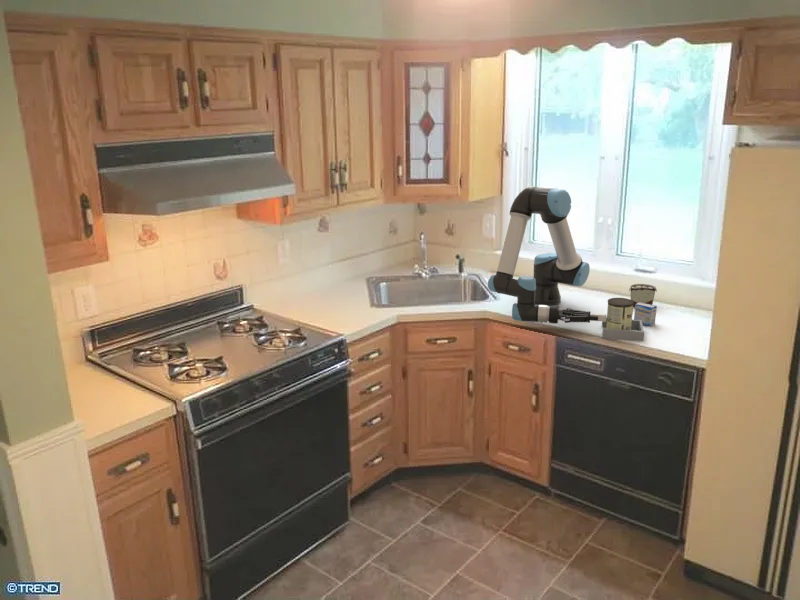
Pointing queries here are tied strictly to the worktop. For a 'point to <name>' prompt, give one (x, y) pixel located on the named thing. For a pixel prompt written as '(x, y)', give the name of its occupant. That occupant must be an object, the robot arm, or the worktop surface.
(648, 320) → the medicine box
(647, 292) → the food container
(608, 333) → the frame
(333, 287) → the worktop surface
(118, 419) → the worktop surface
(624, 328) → the coffee can
